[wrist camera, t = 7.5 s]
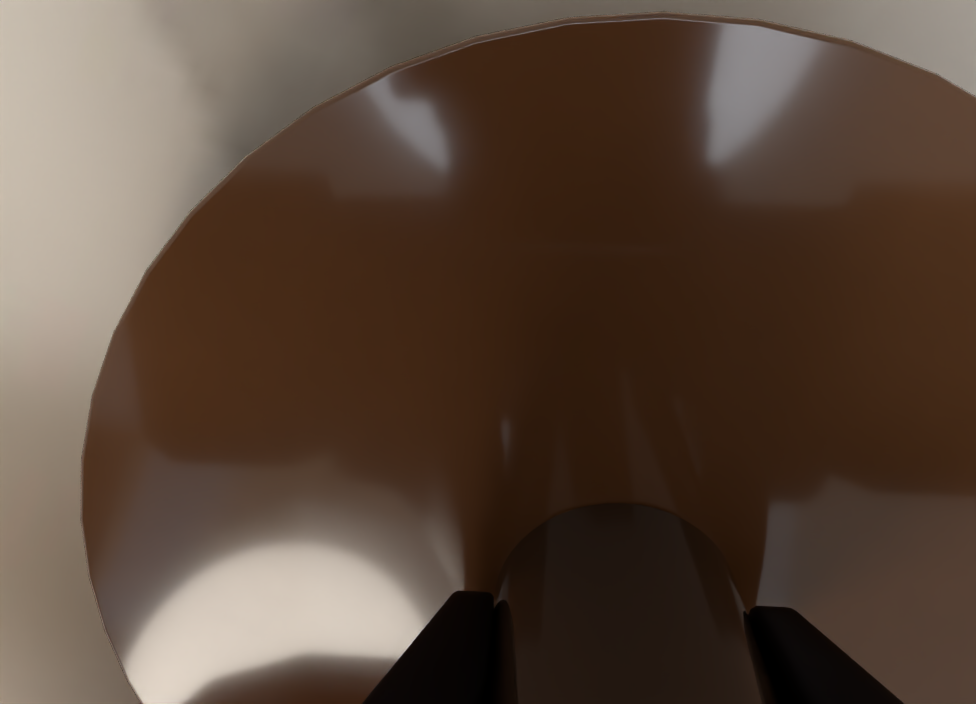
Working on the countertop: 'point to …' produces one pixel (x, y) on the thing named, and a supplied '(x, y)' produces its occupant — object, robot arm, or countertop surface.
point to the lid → (558, 377)
